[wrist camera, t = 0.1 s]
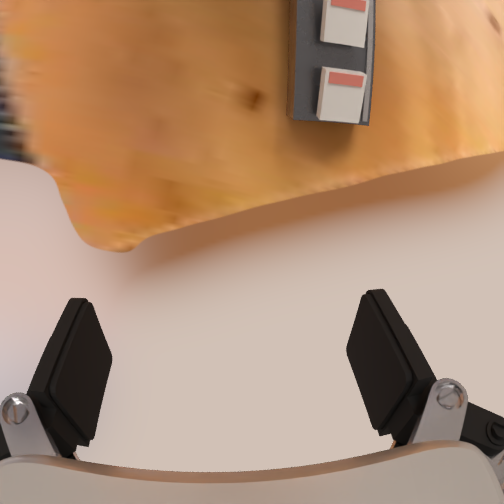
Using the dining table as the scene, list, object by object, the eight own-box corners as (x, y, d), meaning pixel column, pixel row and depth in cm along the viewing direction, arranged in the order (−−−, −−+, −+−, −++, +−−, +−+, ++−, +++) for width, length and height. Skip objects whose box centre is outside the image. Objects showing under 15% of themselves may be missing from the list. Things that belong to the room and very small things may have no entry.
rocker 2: (322, 66, 28) (326, 69, 27) (362, 71, 28) (367, 75, 27) (316, 115, 31) (320, 120, 30) (354, 118, 32) (359, 124, 31)
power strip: (289, -80, 21) (297, -93, 18) (359, -67, 22) (372, -77, 18) (286, 115, 36) (293, 120, 32) (356, 120, 37) (369, 126, 33)
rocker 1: (323, -8, 23) (328, -8, 22) (364, 0, 23) (370, 0, 22) (319, 40, 27) (323, 41, 26) (359, 46, 27) (364, 48, 26)
